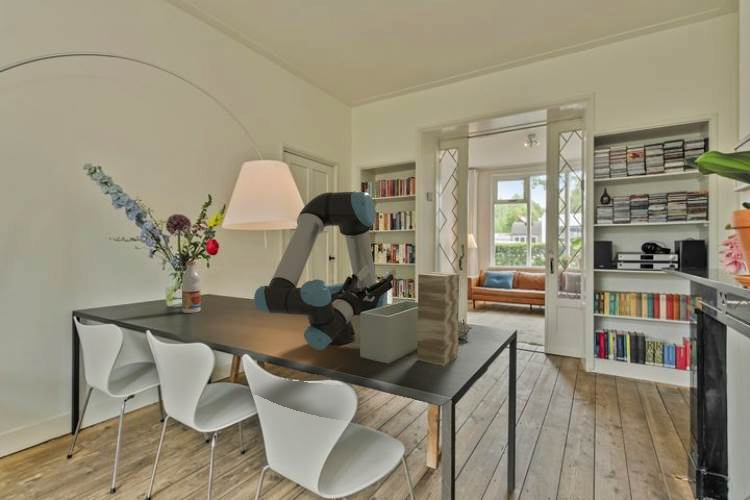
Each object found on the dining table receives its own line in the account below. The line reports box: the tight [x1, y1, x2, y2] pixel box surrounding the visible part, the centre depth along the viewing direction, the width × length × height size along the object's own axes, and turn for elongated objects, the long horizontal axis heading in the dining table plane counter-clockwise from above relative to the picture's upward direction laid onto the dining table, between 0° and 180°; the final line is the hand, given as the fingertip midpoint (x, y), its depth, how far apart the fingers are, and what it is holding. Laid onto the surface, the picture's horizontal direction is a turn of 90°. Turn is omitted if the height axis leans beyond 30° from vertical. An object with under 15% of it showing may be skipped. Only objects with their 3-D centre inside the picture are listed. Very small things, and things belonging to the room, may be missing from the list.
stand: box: [416, 271, 460, 367], centre depth 128 cm, size 12×10×30 cm
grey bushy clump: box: [458, 318, 473, 340], centre depth 154 cm, size 9×8×10 cm
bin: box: [359, 300, 418, 365], centre depth 138 cm, size 31×12×16 cm, turn 145°
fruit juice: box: [181, 261, 202, 314], centre depth 205 cm, size 9×9×28 cm
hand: (381, 269), depth 127 cm, fingers open, 11 cm apart
